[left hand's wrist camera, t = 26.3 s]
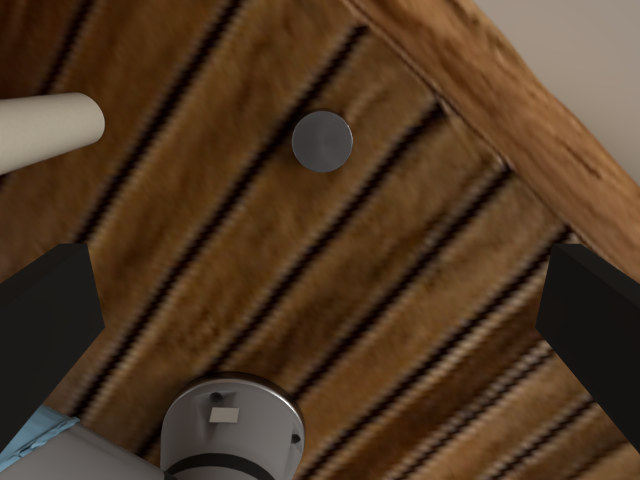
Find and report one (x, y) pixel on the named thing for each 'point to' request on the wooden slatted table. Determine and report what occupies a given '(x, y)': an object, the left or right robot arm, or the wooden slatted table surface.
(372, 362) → the wooden slatted table surface
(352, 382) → the wooden slatted table surface
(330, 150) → the lid
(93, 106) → the beige cylinder
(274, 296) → the wooden slatted table surface
